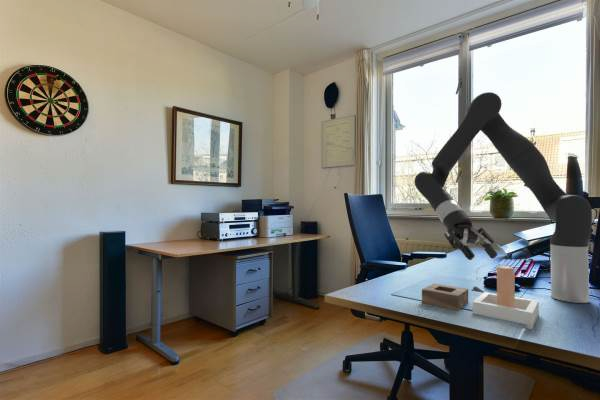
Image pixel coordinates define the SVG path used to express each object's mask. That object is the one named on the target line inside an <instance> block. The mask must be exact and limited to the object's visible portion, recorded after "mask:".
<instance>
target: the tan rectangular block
mask: <svg viewBox="0 0 600 400" xmlns="http://www.w3.org/2000/svg"><path fill="white" fill-rule="evenodd" d="M515 270H516V269H515V268H514V267H511V266H496V294H497V305H501V306H507V307H512V308H515V297H516V295H515V294H516V292H515V290H516V289H515V287H516V286H515V283H516V282H515V278H516V277H515V276H516V275H515V272H516V271H515Z"/></svg>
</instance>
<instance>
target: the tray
mask: <svg viewBox="0 0 600 400" xmlns="http://www.w3.org/2000/svg"><path fill="white" fill-rule="evenodd" d="M539 303H540V302H539V300H535V299H528V298H523V297H517V296H515V308H512V307H507V306H501V305H497V293H492V292H486V291H484V293H481V294H480V295H479V296H478V297H476V298H475V299H474V300H473V301H472V314H476V315H479V316H485V317H488V318H490V317H491V318H494V319H500V320H504V321H509V322H514V323H518V324H523V328H524V329H529V330H534V327H535V326H536V323H537V320H538V319H539V317H540V304H539Z"/></svg>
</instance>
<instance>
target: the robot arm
mask: <svg viewBox="0 0 600 400" xmlns="http://www.w3.org/2000/svg"><path fill="white" fill-rule="evenodd" d="M501 108H502V99H501V97H500V96H499V94H497V93H495V92H491V91H488V92H482V93H480V94H478V95H477V96H475V97H474V98H473V99H472V101H471V102H470V103H469V105H468V108H467V113H466V116H465V117H464V119H463V120H462V122H461V123H460V124H459V126H458V127H457V129H456V130H455V132H454V133H453V134H452V135H451V136H450V137H449V138H448V139H447V142H446V143H444V145H443V146H442V147H441V149H440V150H439V151H438V153H437V154H436V155H435V157H434V158H433V160H432V162H431V166H432V173H431V172H429V171H421V172H419V173H417V174H416V176H415V177H414V186H415V188H416V189H417V190H418V192H419V193H420V194H421V195H422V196H423V198H425V200H426V201H427V202H428V203H429V205H430V206H431V208H432V210H433V211H434V212H435V214H436V215H437V218H438V219H439V220H440V222H441V223H442V224H443V226H444V227H445V229H446V231H445V233H444V236H445V238H446V240H447V241H448V243H449V244H450V246H451V248H452V249H458V250H459V251H461V252H462V255H464V256H465V258H466V259H467V260H469V261H471V260H473V259H474V258H475V256H476V255H475V254H474V252H473V251H472V249H471V248H470V247H469V245H467V244H474V245H475V246H479V247H481V248H482V249H483V250H484V251H485V253H486V254H487V255H488V257H489V258H490V259H495V258H496V257H497V256H498V253H497V251H496V250H495V248H494V247H493V246H492V245H493V244H494V243H495V240H494V239H493V238H492V237H491V235H490V234H488V233H487V231H486V230H485V229H484V228H483V227H479V228H478V229H476V228H474V226H473V221H472V219H471V218H470V217H469V215H468V214H467V213H466V212H465V211H464V209H463V208H462V207H461V206H460V204H459V203H457V202H456V200H455V199H454V198H453V197H452V196H451V194H450V193H449V192H448V191H446V189H444V187H445V184H446V182H447V180H448V177H449V175H450V172H452V169H453V168H454V167H455V165H456V164H457V163H458V162H459V160H460V159H461V157H462V156H463V154H464V153H465V152H466V150H467V148H468V147H469V146H470V145H471V143H472V142H473V140H474V139H475V138H476V136H477V135H478V134H479V133H480V131H481V132H482V133H483V134H484V135H485V136H486V137H487V138H488V140H489V141H490V142H491V144H492V145H493V146H494V148H495V149H496V151H497V152H498V153H499V155H500V156H501V157H502V158H503V160H504V161H505V162H506V164H507V165H508V166H509V167H510V168H511V170H512V171H513V172H514V174H516V175H517V176H518V178H519V179H520V180H521V182H522V183H524V185H525V186H526V187H527V188H528V189H529V190H530V191H531V193H532V194H533V195H534V197H535V198H536V200H537V201H538V203H539V204H540V207H541V208H542V209H543V212H544V213H545V214H546V215H547V216H548V218H549V219H551V221H554V222H555V229H554V232H553V234H551V235H550V239H549V241H550V243H549V245H550V247H549V249H550V250H549V251H550V297H551V298H553V299H556V300H559V301H563V302H568V303H573V304H574V303H576V304H587V303H589V302H590V285H589V284H590V281H589V280H590V278H589V277H590V276H589V274H590V273H589V271H590V270H589V267H590V266H589V241H590V239H591V237H592V236H591V235H592V223H593V222H592V221H593V211H592V207H591V204H590V202H589V201H588V200H587V199H586V198H585V197H583V196H581V195H577V194H567V193H566V192H565V191H564V190H563V189H562V188H561V187H560V186H559V184H557V182H556V181H555V180H554V177H553V175H552V174H551V169H550V168H549V165H548V162H547V161H546V158H545V157H544V155H543V154H542V153H541V151H540V150H539V148H537V146H536V145H535V144H534V143H533V142H532V141H530V139H528V138H527V137H525V136H524V135H523V134H521V133H520V132H518V131H517V130H515V129H514V128H512V127H511V126H510V125H509V124H508V123H507V122H506V121H505V119H504V118H503V117H502V115H501V114H500V112H501ZM478 238H479V239H478ZM482 242H483V243H482Z"/></svg>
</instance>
